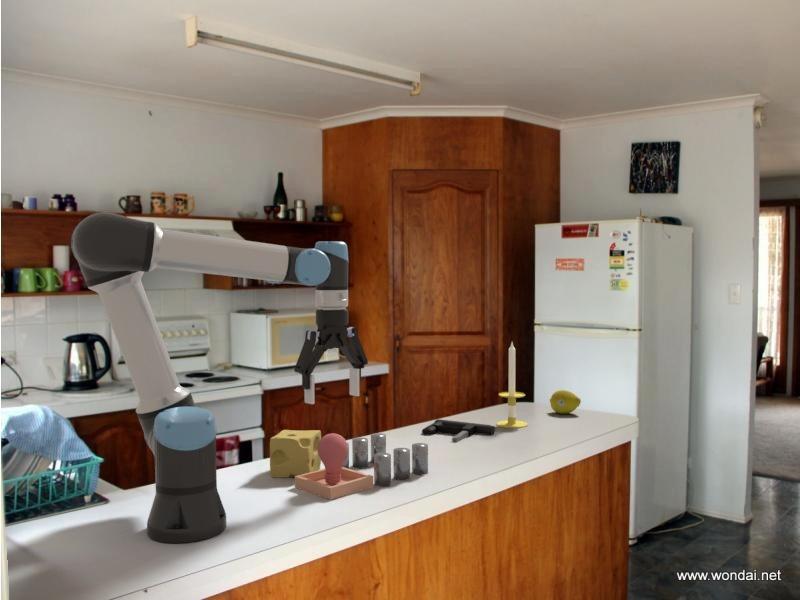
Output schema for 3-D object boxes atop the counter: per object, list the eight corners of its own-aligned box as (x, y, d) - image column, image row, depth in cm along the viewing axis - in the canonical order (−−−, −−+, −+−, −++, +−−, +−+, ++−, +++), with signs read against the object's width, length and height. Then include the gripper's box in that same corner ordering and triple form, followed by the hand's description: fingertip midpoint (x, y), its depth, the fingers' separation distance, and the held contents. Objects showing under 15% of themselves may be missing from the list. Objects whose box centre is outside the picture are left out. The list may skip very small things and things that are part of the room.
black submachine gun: (475, 437, 215) (496, 423, 229) (414, 430, 224) (437, 416, 238) (476, 449, 215) (496, 434, 229) (414, 441, 225) (438, 427, 239)
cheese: (309, 480, 181) (309, 439, 181) (267, 477, 183) (267, 437, 183) (322, 468, 191) (322, 429, 191) (282, 466, 194) (282, 428, 193)
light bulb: (355, 483, 176) (353, 432, 175) (333, 491, 170) (330, 439, 169) (335, 477, 180) (333, 428, 179) (312, 485, 175) (310, 434, 174)
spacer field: (382, 487, 175) (382, 458, 174) (329, 471, 188) (329, 444, 188) (431, 472, 187) (431, 444, 186) (378, 458, 200) (378, 432, 200)
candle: (496, 420, 246) (496, 339, 244) (527, 421, 244) (527, 339, 243) (495, 427, 236) (496, 342, 234) (528, 428, 234) (528, 342, 233)
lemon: (544, 413, 257) (544, 390, 257) (556, 409, 263) (556, 387, 262) (572, 417, 250) (572, 394, 249) (584, 414, 255) (584, 390, 255)
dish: (330, 499, 166) (330, 488, 166) (294, 487, 175) (294, 476, 175) (373, 486, 176) (373, 475, 175) (337, 475, 185) (337, 465, 184)
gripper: (298, 311, 162) (299, 409, 163) (382, 306, 179) (382, 394, 180) (278, 310, 167) (279, 404, 168) (361, 305, 185) (361, 390, 186)
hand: (332, 399), depth 174 cm, fingers open, 13 cm apart
